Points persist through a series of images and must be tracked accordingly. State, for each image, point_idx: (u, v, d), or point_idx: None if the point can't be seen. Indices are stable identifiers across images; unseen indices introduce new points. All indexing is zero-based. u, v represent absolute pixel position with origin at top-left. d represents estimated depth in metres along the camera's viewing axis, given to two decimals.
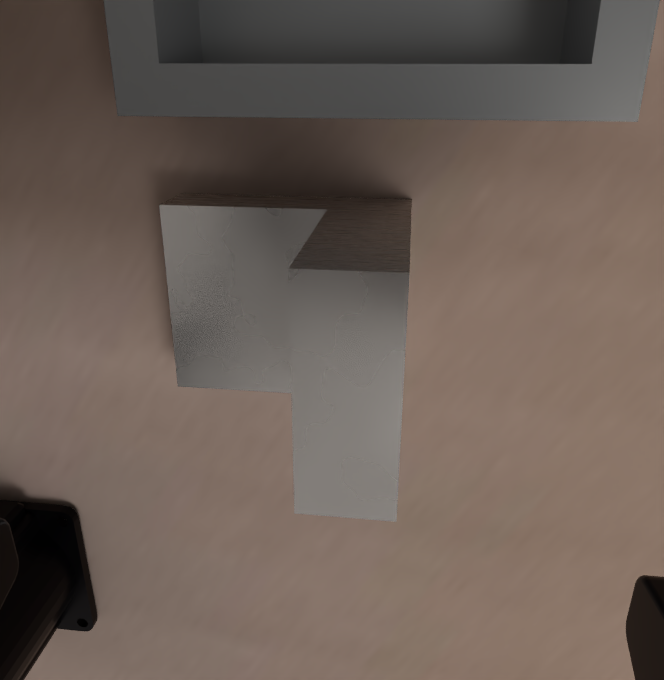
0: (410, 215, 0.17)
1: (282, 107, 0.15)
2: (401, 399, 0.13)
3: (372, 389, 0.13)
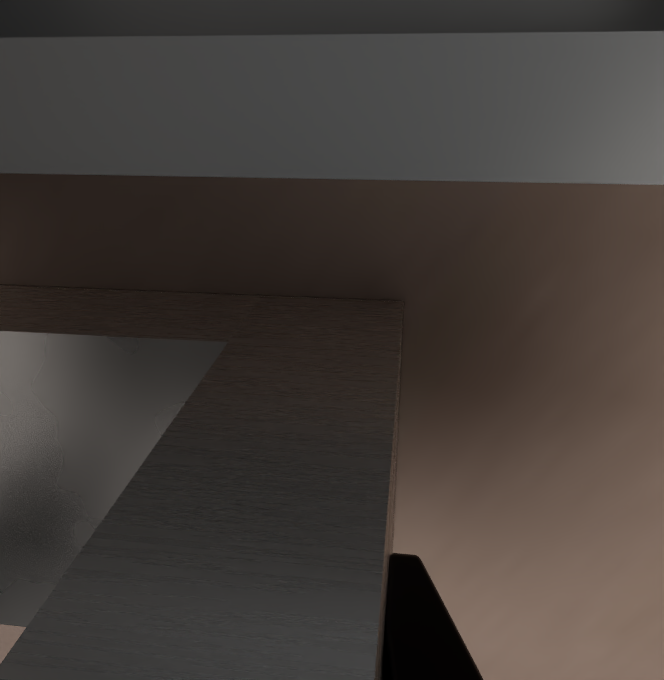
0: (396, 366, 0.08)
1: (67, 149, 0.06)
2: None
3: None
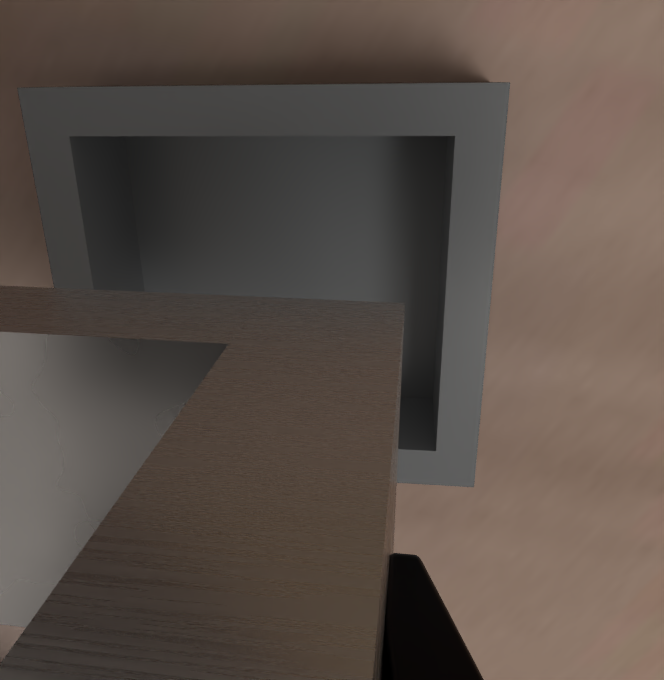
0: (397, 368, 0.08)
1: None
2: None
3: None
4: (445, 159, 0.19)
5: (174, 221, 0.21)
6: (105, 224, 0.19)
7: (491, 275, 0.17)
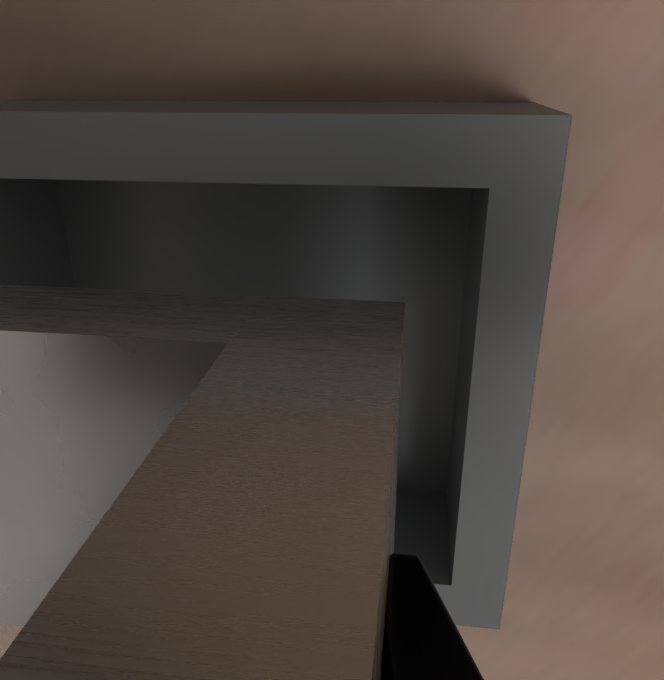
0: (397, 367, 0.08)
1: None
2: None
3: None
4: (470, 203, 0.14)
5: (121, 273, 0.16)
6: (22, 284, 0.14)
7: (533, 374, 0.12)
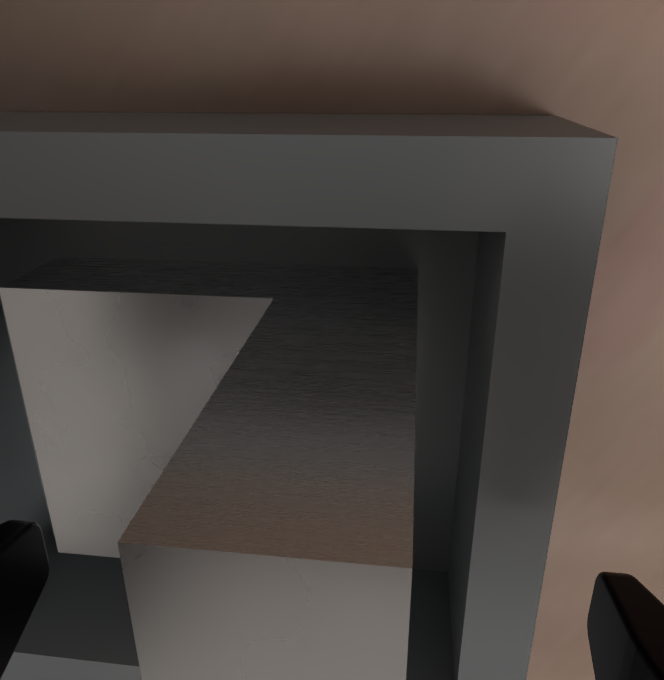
0: (415, 314, 0.10)
1: None
2: None
3: None
4: (477, 238, 0.12)
5: None
6: None
7: (560, 462, 0.10)
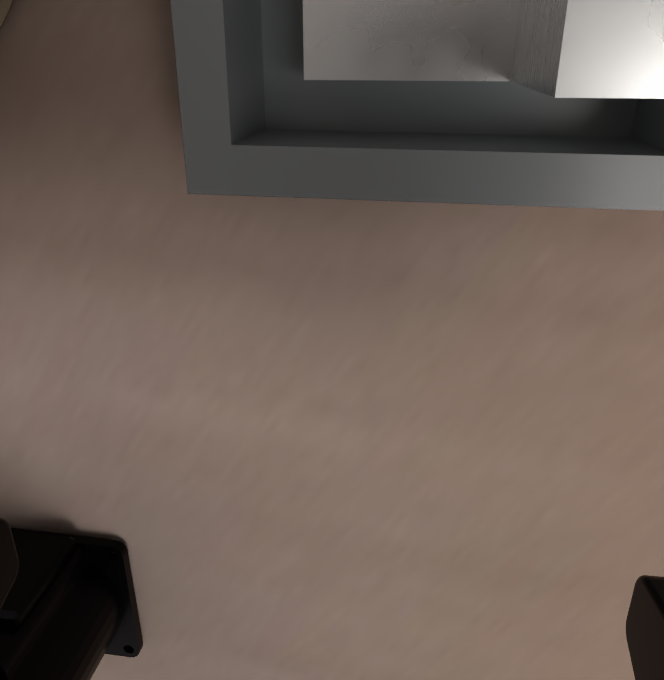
0: None
1: (354, 189, 0.15)
2: None
3: None
4: None
5: None
6: None
7: None
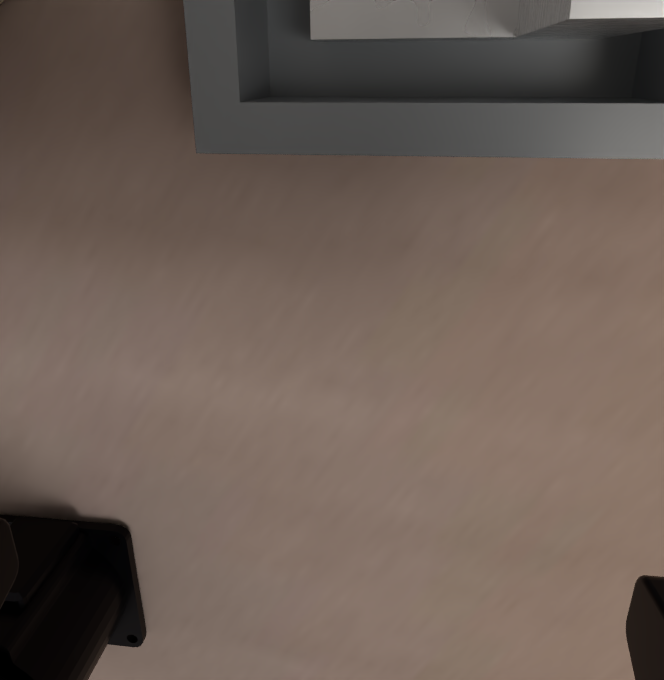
0: None
1: (362, 145, 0.15)
2: None
3: None
4: None
5: None
6: None
7: None
